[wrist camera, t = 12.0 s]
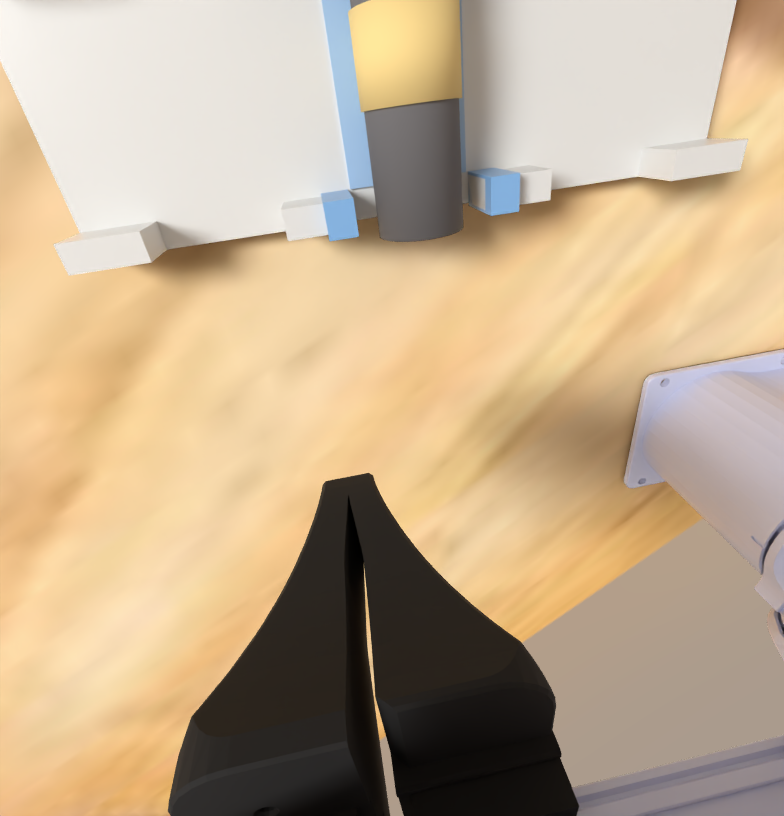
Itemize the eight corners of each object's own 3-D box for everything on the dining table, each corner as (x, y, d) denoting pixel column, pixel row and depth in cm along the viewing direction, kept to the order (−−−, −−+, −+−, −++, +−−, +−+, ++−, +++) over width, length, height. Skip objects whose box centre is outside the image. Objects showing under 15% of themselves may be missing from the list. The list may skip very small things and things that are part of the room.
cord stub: (321, -157, 12) (322, -238, 10) (436, -170, 12) (469, -252, 10) (372, 229, 18) (382, 247, 15) (453, 217, 18) (477, 232, 15)
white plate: (747, -157, 14) (864, -234, 11) (683, 168, 19) (752, 174, 16) (-44, -75, 13) (-155, -140, 10) (104, 257, 18) (62, 283, 15)
